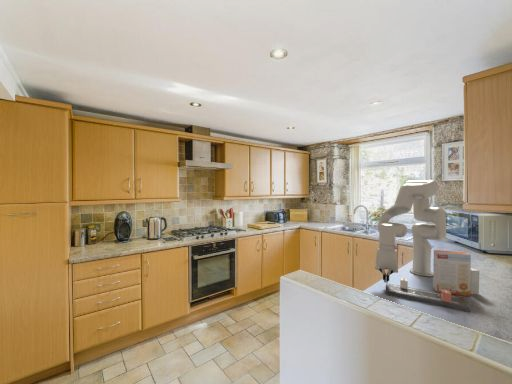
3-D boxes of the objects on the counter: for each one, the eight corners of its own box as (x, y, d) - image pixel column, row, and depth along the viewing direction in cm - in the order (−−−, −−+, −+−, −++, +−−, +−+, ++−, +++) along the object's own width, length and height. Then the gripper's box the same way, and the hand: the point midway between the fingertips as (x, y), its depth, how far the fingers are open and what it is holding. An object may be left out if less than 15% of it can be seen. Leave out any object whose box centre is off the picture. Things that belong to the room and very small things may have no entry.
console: (386, 286, 128) (386, 282, 128) (463, 301, 112) (463, 297, 112) (385, 294, 118) (385, 290, 118) (470, 311, 102) (470, 306, 102)
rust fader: (440, 297, 111) (441, 288, 111) (449, 299, 109) (449, 290, 109) (442, 301, 107) (442, 292, 107) (451, 302, 106) (451, 293, 106)
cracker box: (464, 292, 123) (465, 251, 123) (470, 297, 117) (471, 254, 117) (432, 288, 127) (433, 249, 127) (436, 292, 122) (437, 251, 121)
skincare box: (460, 288, 127) (461, 266, 127) (469, 289, 127) (469, 266, 127) (470, 293, 121) (471, 270, 121) (479, 294, 121) (480, 270, 121)
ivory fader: (400, 285, 125) (400, 277, 125) (407, 286, 123) (407, 278, 123) (400, 287, 121) (400, 279, 121) (407, 289, 120) (407, 281, 120)
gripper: (403, 247, 126) (402, 282, 126) (371, 244, 133) (370, 276, 133) (403, 250, 119) (402, 287, 119) (370, 246, 126) (369, 281, 126)
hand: (386, 281), depth 126 cm, fingers closed
